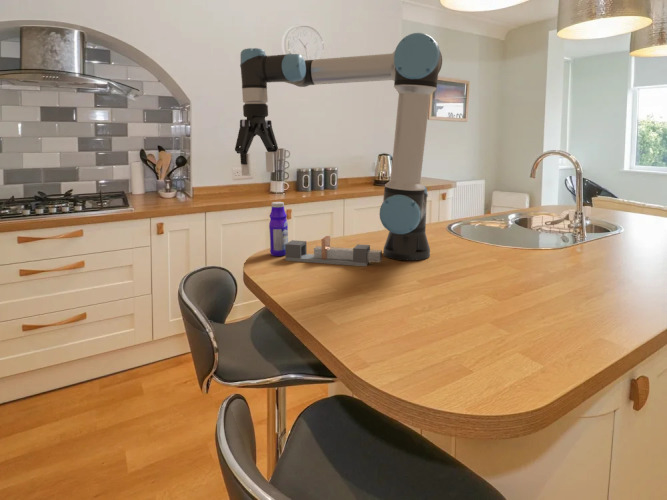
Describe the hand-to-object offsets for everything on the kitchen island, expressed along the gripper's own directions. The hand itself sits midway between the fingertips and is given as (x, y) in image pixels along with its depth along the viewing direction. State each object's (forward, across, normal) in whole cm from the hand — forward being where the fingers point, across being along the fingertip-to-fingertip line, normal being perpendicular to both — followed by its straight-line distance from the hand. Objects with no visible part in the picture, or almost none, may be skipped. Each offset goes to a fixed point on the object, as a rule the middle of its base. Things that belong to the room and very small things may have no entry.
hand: (258, 173), depth 149 cm
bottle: (+27, -4, +4) cm, 28 cm away
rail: (+27, -3, +22) cm, 35 cm away
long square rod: (+26, -4, +29) cm, 39 cm away
